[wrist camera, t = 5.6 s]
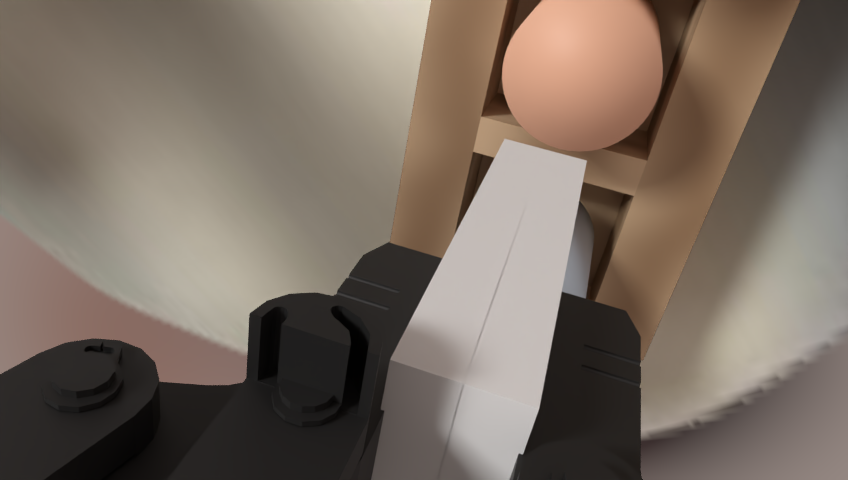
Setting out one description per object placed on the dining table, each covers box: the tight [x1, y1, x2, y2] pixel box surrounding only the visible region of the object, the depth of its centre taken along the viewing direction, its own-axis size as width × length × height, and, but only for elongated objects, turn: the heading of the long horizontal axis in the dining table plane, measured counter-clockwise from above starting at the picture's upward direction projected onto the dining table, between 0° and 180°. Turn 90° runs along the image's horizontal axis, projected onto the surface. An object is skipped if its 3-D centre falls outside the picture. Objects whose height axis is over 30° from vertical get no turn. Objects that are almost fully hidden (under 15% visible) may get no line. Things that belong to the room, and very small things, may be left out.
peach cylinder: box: [502, 0, 663, 152], centre depth 24 cm, size 5×5×6 cm
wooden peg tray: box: [390, 0, 800, 360], centre depth 26 cm, size 12×24×4 cm, turn 170°
